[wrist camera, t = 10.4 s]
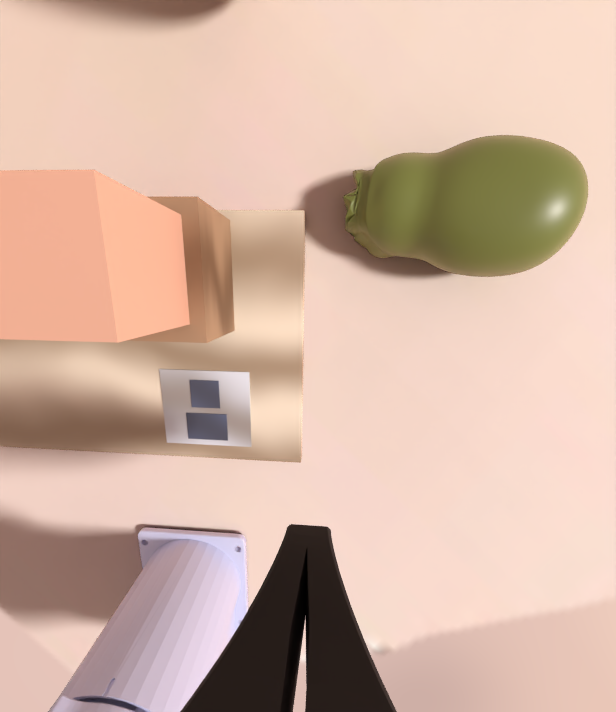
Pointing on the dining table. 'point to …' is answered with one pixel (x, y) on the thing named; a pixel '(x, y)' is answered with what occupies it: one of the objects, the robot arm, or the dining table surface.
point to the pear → (471, 205)
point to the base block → (202, 273)
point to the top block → (87, 259)
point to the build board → (179, 370)
